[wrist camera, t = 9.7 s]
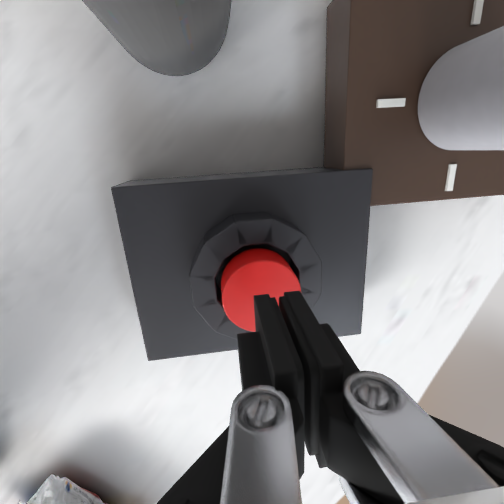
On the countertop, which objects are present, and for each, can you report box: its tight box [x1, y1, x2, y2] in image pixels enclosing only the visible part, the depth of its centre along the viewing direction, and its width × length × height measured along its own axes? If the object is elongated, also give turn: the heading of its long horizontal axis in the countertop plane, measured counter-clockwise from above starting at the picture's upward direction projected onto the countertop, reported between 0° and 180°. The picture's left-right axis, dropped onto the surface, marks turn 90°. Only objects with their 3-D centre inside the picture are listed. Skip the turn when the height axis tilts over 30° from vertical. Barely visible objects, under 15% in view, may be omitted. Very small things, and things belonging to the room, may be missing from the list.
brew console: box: [324, 0, 504, 206], centre depth 16 cm, size 12×10×3 cm
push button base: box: [111, 167, 373, 361], centre depth 17 cm, size 13×10×5 cm
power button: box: [221, 248, 301, 332], centre depth 14 cm, size 4×4×2 cm
